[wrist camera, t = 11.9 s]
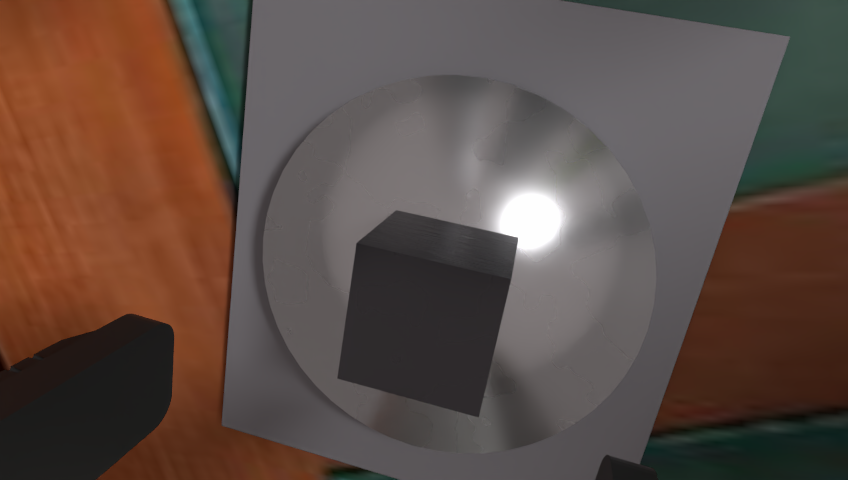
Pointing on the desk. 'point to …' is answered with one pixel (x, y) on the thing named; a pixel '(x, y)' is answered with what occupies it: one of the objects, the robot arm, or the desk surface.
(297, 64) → the mat
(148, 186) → the desk surface
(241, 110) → the desk surface
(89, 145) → the desk surface
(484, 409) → the lid
